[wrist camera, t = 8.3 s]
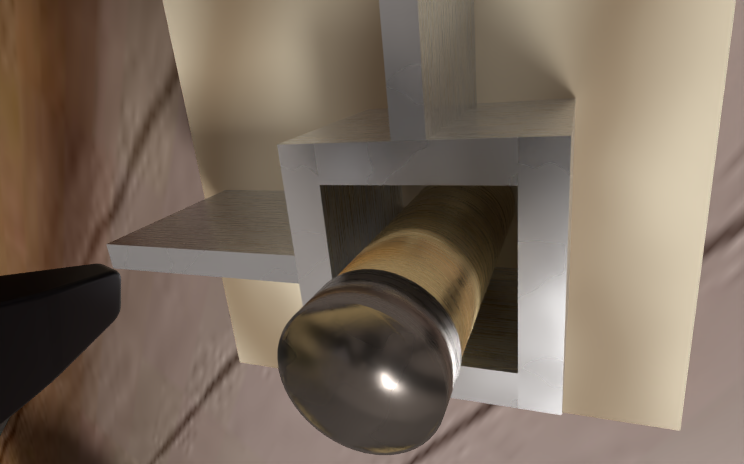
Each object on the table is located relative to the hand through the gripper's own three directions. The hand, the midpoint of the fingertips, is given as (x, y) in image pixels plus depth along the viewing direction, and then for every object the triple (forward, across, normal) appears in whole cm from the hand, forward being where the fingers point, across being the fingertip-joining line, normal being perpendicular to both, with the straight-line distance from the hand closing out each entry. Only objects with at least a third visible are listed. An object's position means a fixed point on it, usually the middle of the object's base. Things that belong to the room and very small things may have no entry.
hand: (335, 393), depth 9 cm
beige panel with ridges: (+12, +2, -1) cm, 12 cm away
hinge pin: (+10, 0, 0) cm, 10 cm away
